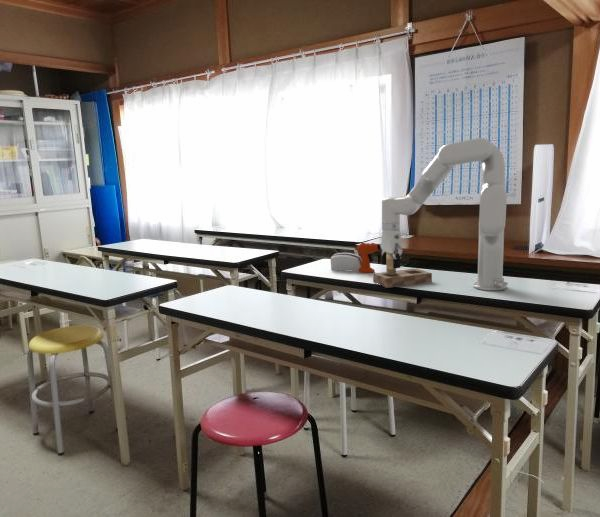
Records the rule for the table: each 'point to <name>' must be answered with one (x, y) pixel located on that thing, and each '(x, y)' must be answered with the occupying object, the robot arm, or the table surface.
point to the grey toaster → (346, 261)
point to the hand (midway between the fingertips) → (391, 266)
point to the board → (403, 278)
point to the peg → (390, 265)
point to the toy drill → (367, 256)
